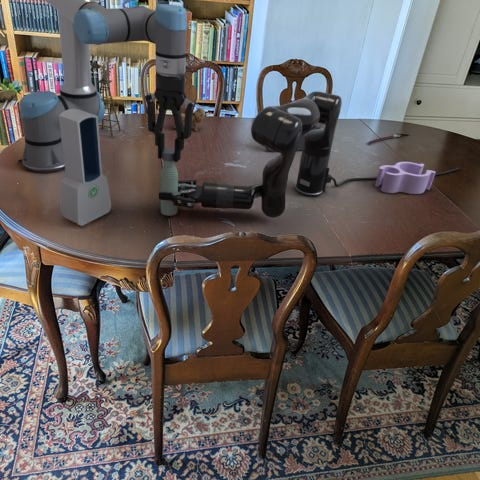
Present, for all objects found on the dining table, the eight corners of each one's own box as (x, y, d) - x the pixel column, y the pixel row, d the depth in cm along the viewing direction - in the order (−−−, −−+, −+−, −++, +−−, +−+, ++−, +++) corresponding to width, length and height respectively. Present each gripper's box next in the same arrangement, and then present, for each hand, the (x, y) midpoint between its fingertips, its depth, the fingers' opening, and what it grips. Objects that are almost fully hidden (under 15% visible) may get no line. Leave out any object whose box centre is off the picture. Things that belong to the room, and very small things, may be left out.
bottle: (167, 217, 137) (167, 161, 128) (157, 210, 140) (157, 155, 130) (180, 212, 140) (182, 157, 131) (170, 205, 143) (171, 151, 134)
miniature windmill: (112, 137, 184) (107, 58, 168) (92, 134, 185) (85, 54, 169) (121, 130, 192) (117, 53, 176) (102, 127, 193) (96, 50, 177)
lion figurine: (202, 126, 204) (203, 106, 200) (205, 130, 200) (206, 110, 196) (169, 127, 200) (169, 106, 195) (172, 132, 195) (172, 110, 191)
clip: (387, 196, 162) (393, 178, 159) (368, 180, 172) (373, 163, 168) (434, 192, 169) (440, 175, 165) (413, 177, 178) (419, 160, 175)
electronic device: (79, 228, 128) (67, 121, 112) (60, 218, 131) (46, 113, 115) (112, 211, 137) (105, 110, 121) (94, 202, 140) (85, 103, 124)
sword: (406, 132, 223) (406, 130, 222) (411, 134, 221) (412, 132, 220) (362, 144, 207) (363, 141, 206) (368, 146, 205) (368, 143, 204)
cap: (170, 162, 129) (170, 155, 127) (158, 158, 130) (158, 150, 129) (180, 158, 132) (180, 150, 131) (168, 153, 133) (168, 146, 132)
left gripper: (132, 70, 117) (135, 157, 130) (197, 82, 114) (193, 169, 126) (145, 64, 123) (146, 148, 136) (207, 75, 120) (202, 159, 133)
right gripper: (219, 173, 142) (162, 169, 140) (218, 195, 130) (156, 191, 128) (217, 195, 146) (162, 191, 144) (216, 218, 134) (156, 214, 132)
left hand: (169, 158), depth 131 cm, fingers closed on cap, 4 cm apart
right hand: (160, 191), depth 136 cm, fingers closed on bottle, 5 cm apart
